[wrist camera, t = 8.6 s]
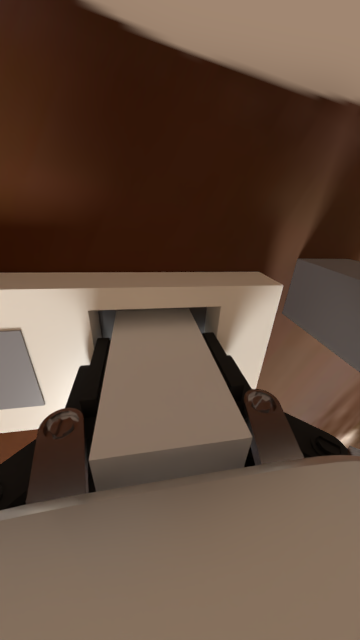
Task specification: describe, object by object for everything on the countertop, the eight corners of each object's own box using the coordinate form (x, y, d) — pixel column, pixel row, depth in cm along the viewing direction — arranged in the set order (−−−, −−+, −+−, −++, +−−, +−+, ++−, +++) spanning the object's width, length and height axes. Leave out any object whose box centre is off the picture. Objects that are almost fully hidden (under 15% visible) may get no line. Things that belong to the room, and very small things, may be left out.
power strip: (259, 271, 13) (291, 289, 10) (236, 378, 16) (255, 412, 14) (-125, 273, 10) (-222, 299, 7) (-47, 404, 13) (-91, 453, 11)
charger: (188, 308, 13) (254, 440, 6) (185, 364, 15) (231, 516, 7) (116, 310, 12) (87, 465, 5) (122, 369, 14) (107, 541, 7)
